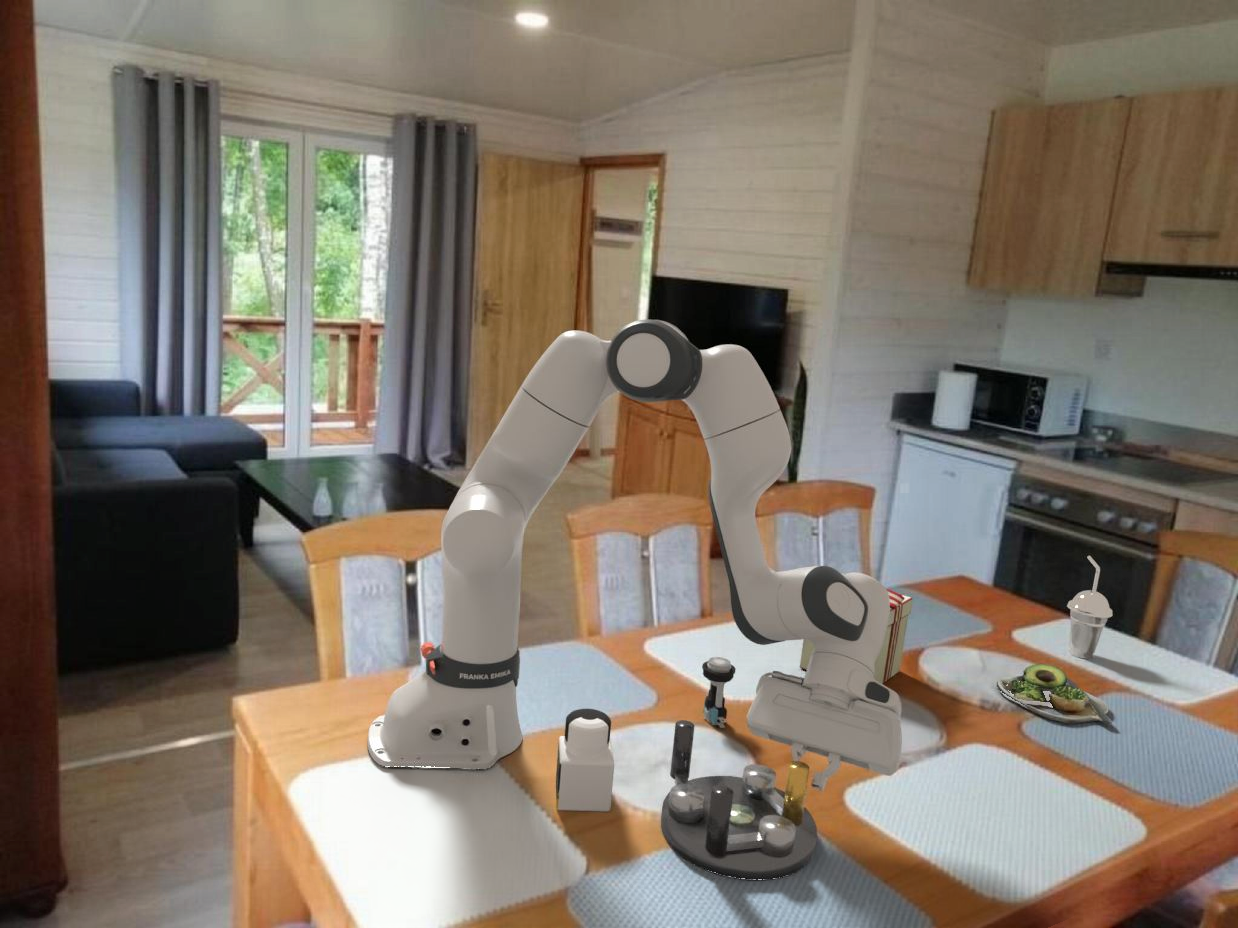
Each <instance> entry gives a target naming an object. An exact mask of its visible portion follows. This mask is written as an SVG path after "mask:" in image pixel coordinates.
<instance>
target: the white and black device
mask: <svg viewBox="0 0 1238 928" xmlns="http://www.w3.org/2000/svg"><path fill="white" fill-rule="evenodd" d="M611 727H612V720H611V718H610V717H609V716H608V714H606V713H605V712H603V711H600V710H598V709H594V708H579V709H575V710H572V711H571V712H570V713H569V714H568V715H566V717H565V727H564V735H560V736H559V737H558V746H557V747H558V748H557V759H556V762H557V763H556V770H555V772H556V775H555V802H556V803H555V805H556V809H557V810H558V811H573V812H600V813H601V812H604V813H605V812H606V813H607V812H611V808H612V807H611V805H612V794H613V785H614V783H613V782H614V774H615V760H614V753H613V745H612V740H611V738H610V737H611Z"/></svg>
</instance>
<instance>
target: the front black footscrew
mask: <svg viewBox="0 0 1238 928" xmlns="http://www.w3.org/2000/svg"><path fill="white" fill-rule="evenodd" d="M732 801H733V790H732V789H730V788H729V787H726V786H722V785H718V786H714V787H713V788H712V791H711V800H710V808H709V817H708V826H707V835H706V843H705V849H706V850H707V851H708V852H709V853H711V854H714V855H722V854H724V853H726V851H734V850H743V849H751V848H760V849H761V850H762V851H763V852H764V853H766V854H768V855H771V856H776V857H784V856H788V855H790V854H791V853H792V851H793V846H794V839H795V831H796V827H795V825H794V823H793V822H792V821H790V820H789V819H787V818H785V817H782V816H777V815H768V816H765V817H763V818H762V819H761V820H760V824H759V832H755V833H746V834H737V835H728V834H729V826H730V818H731V809H732Z"/></svg>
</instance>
